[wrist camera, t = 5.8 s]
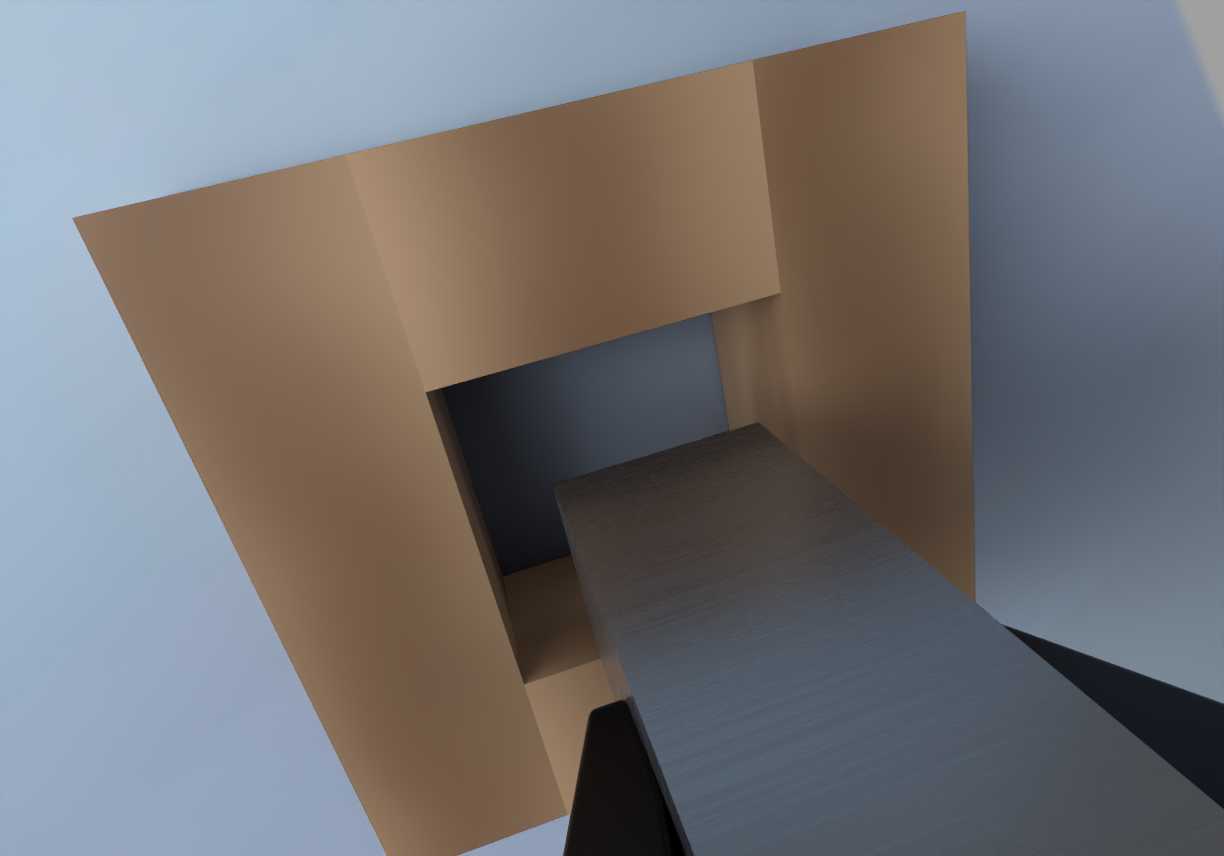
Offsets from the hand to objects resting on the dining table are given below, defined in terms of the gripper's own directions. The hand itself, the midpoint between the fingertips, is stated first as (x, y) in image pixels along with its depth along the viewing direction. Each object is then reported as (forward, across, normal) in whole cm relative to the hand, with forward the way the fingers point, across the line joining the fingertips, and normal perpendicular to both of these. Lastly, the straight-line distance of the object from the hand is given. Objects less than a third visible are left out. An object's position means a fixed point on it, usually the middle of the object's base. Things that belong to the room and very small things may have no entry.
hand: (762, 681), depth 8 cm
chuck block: (+8, 0, 0) cm, 8 cm away
